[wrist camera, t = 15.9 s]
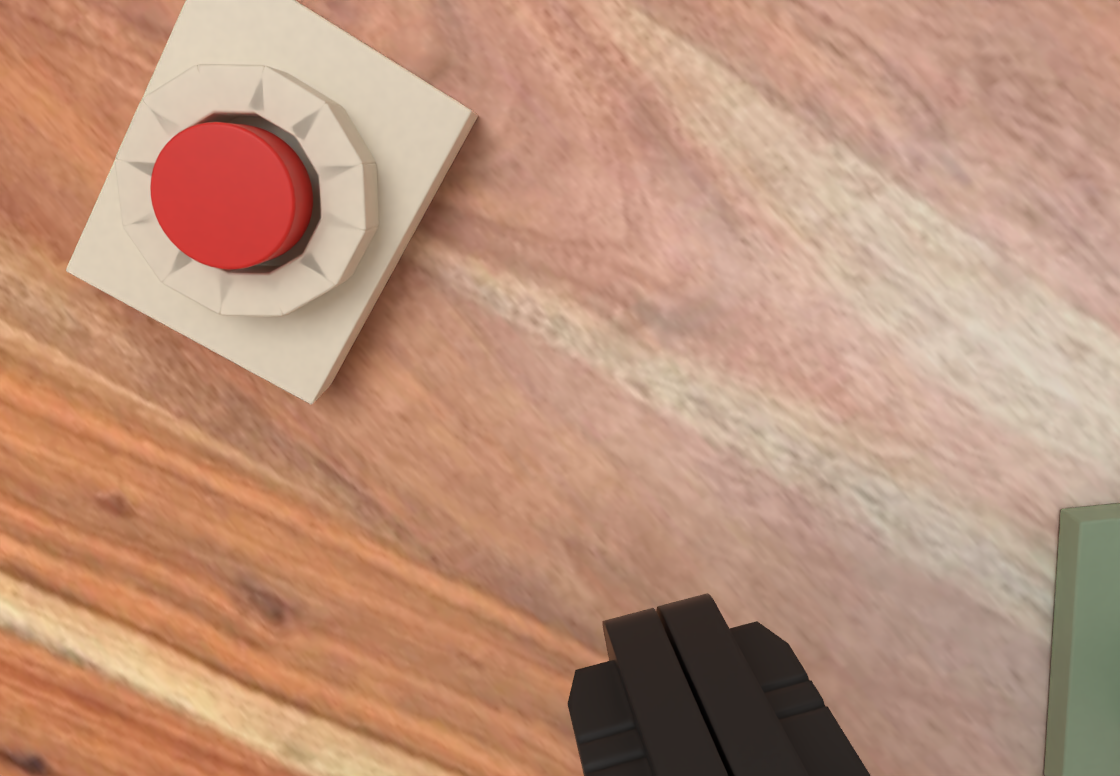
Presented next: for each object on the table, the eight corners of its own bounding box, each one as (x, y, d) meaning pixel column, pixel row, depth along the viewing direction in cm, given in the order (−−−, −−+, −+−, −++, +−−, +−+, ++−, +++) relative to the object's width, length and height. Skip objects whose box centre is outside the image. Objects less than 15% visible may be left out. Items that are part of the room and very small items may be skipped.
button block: (238, -35, 24) (179, -72, 20) (478, 114, 25) (466, 106, 21) (103, 262, 26) (26, 279, 22) (330, 386, 27) (294, 424, 24)
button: (213, 97, 22) (185, 92, 20) (337, 171, 22) (319, 171, 20) (157, 218, 22) (125, 222, 21) (278, 286, 23) (256, 296, 21)
